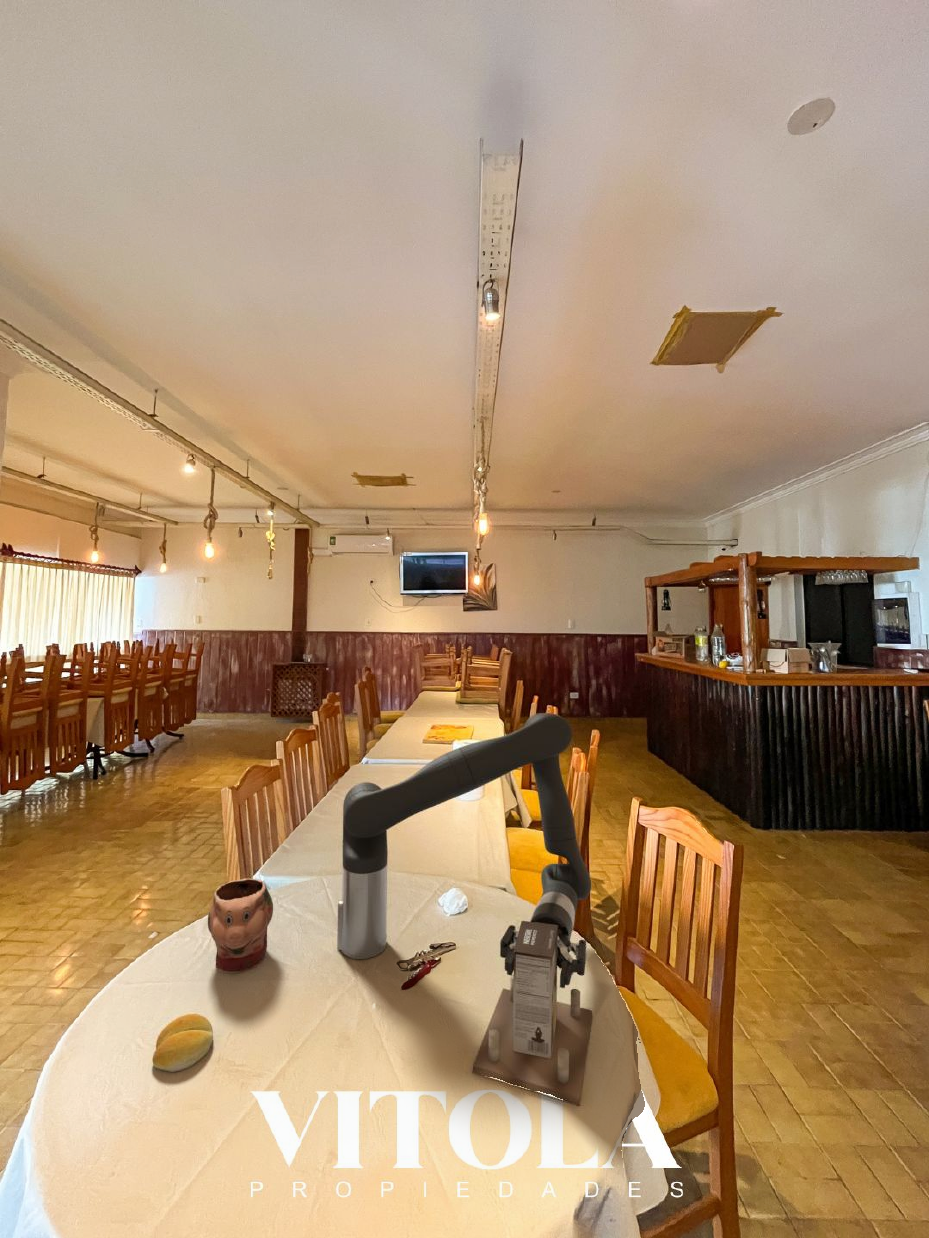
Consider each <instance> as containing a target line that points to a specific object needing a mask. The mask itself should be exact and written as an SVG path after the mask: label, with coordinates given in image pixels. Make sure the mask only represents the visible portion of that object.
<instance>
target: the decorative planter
mask: <svg viewBox="0 0 929 1238" xmlns="http://www.w3.org/2000/svg"><path fill="white" fill-rule="evenodd" d="M273 915H274V903H273V899H272V896H271V894H270V893H269V890H268V888H267V884H266V882H264V881H263V880H262V879H259V878H245V877H244V878H242V879H236V880H231V881H229V882H226V883H224V884H221V885H220V886H219V887H218V888H217V889H216V890H215V891H214V894H213V898H212V904H211V905H210V907H209V910H208V913H207V929H208V931H209V933H210V934H211V937H212V940H213V941H214V943H215V946H216V954H215V968H216V969H218V970H219V971H220V972H222V973H223V972H224V973H239V972H243V971H247V970H250V969H252V968H255V967H256V966H258V965H259V964H261V963H262V962H263V961H264V959H265V957H266V954H267V950H268V927H269V926H270V923H271V922H272V921H271V920H272V918H273Z"/></svg>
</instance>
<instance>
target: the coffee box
mask: <svg viewBox="0 0 929 1238" xmlns="http://www.w3.org/2000/svg"><path fill="white" fill-rule="evenodd" d="M518 931H519V933H518V937H517V941H516V945H515V949H514V971H513V975H514V985H513V1051H515V1052H519V1053H524V1054H529V1055H535V1056H539V1057H544V1058H549V1059H551V1058H552V1052H553V1044H554V1036H555V1027H556V1011H557V1002H558V1001H557V998H558V997H557V995H558V992H557V991H558V966H557V941H558V925H552V924H545V923H538V922H530V921H529V920H521V922H520V925H519V930H518Z"/></svg>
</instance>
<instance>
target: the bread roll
mask: <svg viewBox="0 0 929 1238" xmlns="http://www.w3.org/2000/svg"><path fill="white" fill-rule="evenodd" d="M213 1040H214V1031H213V1026H212V1024H211V1021H209V1019H208V1018H207V1017H206V1016H204V1015H201V1014H199V1013H198V1014H197V1013H189V1014H184V1015H181V1016H179V1017H177V1018H175V1019H173V1020H172V1021H171V1022H169V1023H168V1024H167V1025H166V1026H165V1027H164V1028H163V1029H161V1031H160V1033H159V1035H158V1037H157V1039H156V1042H155V1043H156V1044H155V1051H154V1053H153V1056H152V1058H151V1059H152V1065H153V1066H154V1067H155V1068H156V1069H159V1070H160V1071H161V1070H162V1071H167V1072H171V1073H174V1072H180V1071H184V1070H185V1069H187V1068H190V1067H191V1066H193V1065H195V1064H196V1063H197V1062H198V1061H200V1060H201V1059H202V1058H204V1056H205V1055H206V1054H207V1053H208V1051H210V1048H211V1045H212V1043H213Z"/></svg>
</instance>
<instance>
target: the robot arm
mask: <svg viewBox="0 0 929 1238" xmlns="http://www.w3.org/2000/svg"><path fill="white" fill-rule="evenodd" d="M524 723H525V724H524V725H523V727H520V728H518V729H517V730H515V731H513V732H510V733H508V734H506V735H501V736H499V737H495V738H490V739H485V740H480V741H476V742H474V743H470V744H467V745H463V746H460V747H458V748H456V749H453V750H451V751H449V752H446V753H444V754H441V755H440V756H438V757H436V758H434V759H433V760H431V761H430V762H428V763H427V764H426V765H424V766H423V767H421V768H420V769H419V770H418V771H416V772H415V773H414V774H413V775H411V776H409V777H408V778H406V779H405V780H403V781H400V782H398V783H396V784H393V785H390V786H387V787H385V788H381V787H380V785H378V784H375V783H372V782H370V781H369V782H365V781H364V782H361V783H357V784H356V785H354V786H353V787H351V788H350V789H349V791H348V792H346V795H345V797H344V800H343V804H342V808H343V809H342V872H341V873H342V877H341V878H342V879H341V880H342V881H341V884H342V885H341V887H342V894H341V896H342V897H341V900H339V902H338V903H337V937H336V939H337V941H336V942H337V944H336V946H337V947H336V948H337V950H339V951H341V952H342V953H343V954H344V955H345V956H346V957H348V958H350V959H353V960H367V959H371V958H374V957H376V956H378V955H380V954H381V953H383V951H384V950H385V949H386V947H387V937H388V936H387V926H388V925H387V921H388V919H387V917H388V916H387V915H388V913H387V912H388V907H387V906H388V857H389V856H388V849H389V848H388V835H387V834H388V830H389V829H391V828H393V827H395V826H396V825H398V824H400V823H402V822H403V821H405V820H407V819H408V818H411V817H413V816H415V815H417V814H419V813H422V812H424V811H426V810H428V809H431V808H433V807H436V806H438V805H441V804H443V803H446V802H447V801H450V800H452V799H455V798H458V797H460V796H462V795H466V794H467V793H470V792H473V791H474V790H476V789H477V790H478V788H481V787H482V786H485V785H487V784H489V783H491V782H493V781H495V780H497V779H500V778H502V777H503V776H505V775H506V774H509V773H510V772H512V771H515V770H516V769H518V768H521V767H524V766H526V765H530V764H531V768H532V772H533V776H534V780H535V785H536V790H537V796H538V804H539V810H540V819H541V828H542V834H543V835H542V836H543V843H544V848H545V850H546V851H547V853H549V854H551V855H553V856H558V857H562V858H564V859H565V860H566V861H567V862H568V863H549V864H547V865H546V866H544V867H543V869H542V871H541V874H540V875H541V876H540V880H541V887H542V895H541V896H540V897H541V898H540V900H538V902H537V903H536V905H535V908H534V911H533V913H532V915H531V919H530V921H529V922H538V923H545V924H552V925H558V941H557V968H559V970H560V972H559V973H560V974H559V988H561V989H565V987H566V986H569V985H570V984H571V979H572V976H573V975H574V973H576V974H577V975H578V976H580V977H582V976H584V975H585V970H586V961H587V960H586V959H587V941H586V940H585V939H579V940H578V943H577V942H576V943H574V942H571V938H572V932H573V931H574V928H575V925H574V924H575V919H576V918H575V916H576V912H577V908H578V907H577V906H578V901H581V900H585V899H587V898H588V897H589V895H590V894H591V890H592V880H591V876H590V873H589V870H588V869H587V866H586V864H585V861H584V859H583V857H582V854H581V851H580V847H579V844H578V839H577V834H576V826H575V818H574V813H573V809H572V806H571V801H570V799H569V795H568V793H567V789H566V787H565V784H564V781H563V777H562V772H561V771H562V770H561V766H560V765H561V764H560V755H561V754H562V753H564V752H565V751H566V750H567V749H568V748H569V746H570V745H571V742H572V740H573V729H572V726H571V724H570V722H569V721H568V720H567V719H565V718H564V717H562V716H561V715H558V714H556V713H551V712H550V713H549V712H541V713H540V712H539V713H535V714H533V715H532V716H530V717H528V719H527V720H526V721H525V722H524ZM518 933H519V930H516V925H513V924H511V925H509V926H508V927H507V929H506V931H505V932H504V935H503V936H502V937H501V940H500V942H499V943H500V947H499V949H500V950H499V951H500V952H499V957H501V958H503V959H504V971H505V972H506V975H508V976H510V977H511V976H512V975H513V974H514V949H515V945H516V941H517V937H518ZM570 952H572V953H573V955H574V956H575V958H574V957H573V956H572V955H571V954H570Z"/></svg>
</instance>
